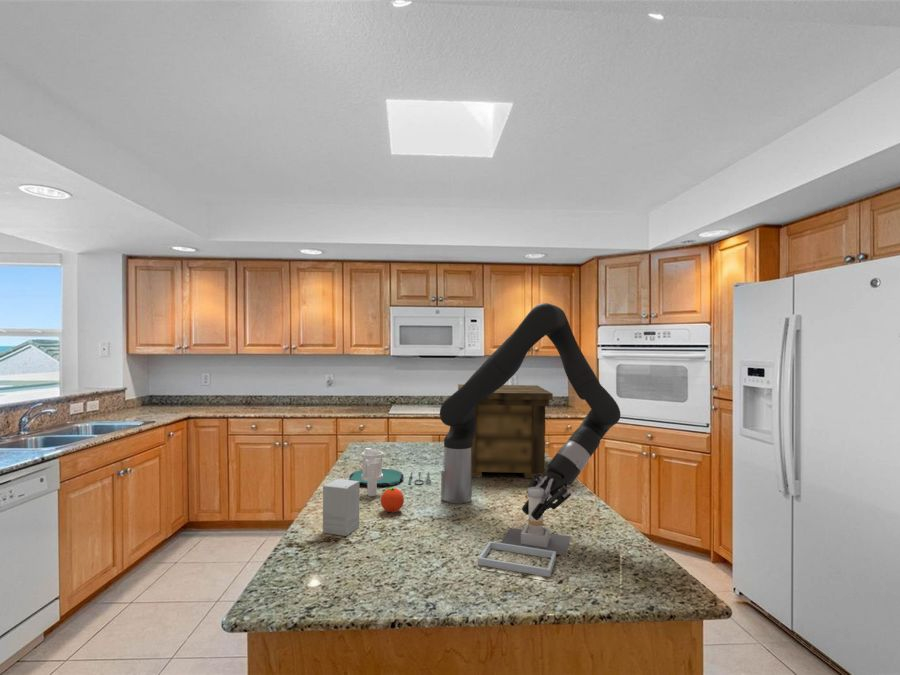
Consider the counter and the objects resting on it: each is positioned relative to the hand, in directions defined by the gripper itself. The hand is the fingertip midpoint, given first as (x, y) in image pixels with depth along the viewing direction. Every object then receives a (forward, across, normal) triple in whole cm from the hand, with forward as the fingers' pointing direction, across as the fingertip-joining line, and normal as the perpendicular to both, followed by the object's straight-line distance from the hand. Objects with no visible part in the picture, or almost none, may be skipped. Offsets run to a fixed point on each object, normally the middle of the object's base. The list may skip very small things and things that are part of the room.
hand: (529, 514), depth 122 cm
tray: (+12, +8, 0) cm, 14 cm away
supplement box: (+35, -29, -23) cm, 51 cm away
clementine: (+23, -38, -11) cm, 45 cm away
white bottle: (+3, 0, +6) cm, 6 cm away
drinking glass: (+24, -55, -12) cm, 61 cm away
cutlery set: (+16, -70, -4) cm, 72 cm away
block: (+4, 0, +7) cm, 8 cm away
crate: (-17, -69, +29) cm, 76 cm away
